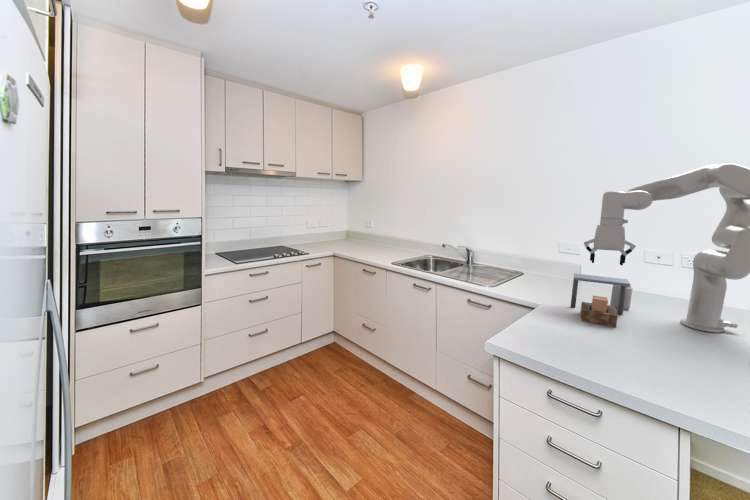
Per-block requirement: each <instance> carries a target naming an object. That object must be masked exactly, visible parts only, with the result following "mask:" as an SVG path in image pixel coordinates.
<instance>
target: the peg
mask: <svg viewBox="0 0 750 500" xmlns="http://www.w3.org/2000/svg"><path fill="white" fill-rule="evenodd" d="M591 303H592V307H591V310H592V311H599V312H605V313H606V312H607V305H608V306H609V304H608V303H609V299H608V297H605V296H600V295H599V296H598V295H592V300H591Z"/></svg>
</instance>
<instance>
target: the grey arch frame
mask: <svg viewBox="0 0 750 500" xmlns="http://www.w3.org/2000/svg"><path fill="white" fill-rule="evenodd" d="M579 281H581V282H587V283H596V284H602V285H603V284H604V285H612V286H613V285H620V286H621V288H620V296H619V303H618V309H616V312H617V315H618V316H623V315H624V310H623V308H624V301H625V294H626V287H627V286H628V287H630V284H631V283H630V281H629V280H628V279H627V278H619V277H611V276H602V275H601V276H600V275H592V274H582V273H576V272H575V273H573V280H572V289H571V290H572V292H571V300H570V305H569V306H570V308H571V309H575V308H576V306H577V297H578V296H577V295H578V288H579Z"/></svg>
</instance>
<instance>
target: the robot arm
mask: <svg viewBox="0 0 750 500" xmlns="http://www.w3.org/2000/svg"><path fill="white" fill-rule="evenodd" d="M713 188H718V189H719V194H720V195H721V196H722V198H723V200H724V202H725V206H726V208H725V209H726V210H725V213H724V214H723V216H722V218H721V220H720V221H719V223H718V225H717V227H716V228H715V230H714V232H713V234H712V236H711V241H712V243H713V245H714V246H716V247H719V248H722V249H726V250H727V249H728V251H724V250H719V249H718V250H717V249H704V250H701V251H700V252H698V253H697V254H695V256H694V258H693V260H692V269H693V276H692V277H693V278H692V285H691V290H690V295H689V296H690V297H689V302H688V306H687V312H686V317H684V318H681V319H680V323H681V324H682V325H683V326H685V327H688V328H691V329H693V330H698V331H700V332H701V331H702V332H706V333H707V332H709V333H718V334H719V333H723V332H724V331H725V328H726V327H727V328H732V329H737V328H738V326H739V325H738V323H737V322H731V321H729V320H724V319H723V318H722V313H723V309H724V303H725V298H726V297H725V296H726V293H727V287H728V284H727V280H735V281H737V280H738V281H739V280H741V279H744V278H746V277H747V276H749V274H750V168H749V167H747V166H744V165H740V164H736V163H729V162H727V163H720V164H718V163H717V164H710V165H705V166H702V167H699V168H696V169H693V170H689V171H686V172H683V173H681V174H676V175H673V176H671V177H668V178H664V179H659V180H657V181H652V182H650V183H645V184H643V185H638V186H636V187H632V188H629V189H626V190H623V191H617V190H616V191H606V192H604V193H603V195H602V201H601V212H600V219H599V224H598V225H597V226H596V229H595V232H594V233H595V234H594V238H592V239H589V240H587V241H584V242H583V246H585V249H586V250H587V251H588V252H589V253H590V256H589V261H591V263H592V264H594V263H595V256H596V253H595V252H596V251H598V250H599V251H601V250H602V251H616V252H618V251H619V252H620V253H621V254H620V258H619V265H620V266H623V265H624V264H625V263H626V257H627V255H629V254H630V253H632V252H633V251H634V249H635V248H636V247H637V245H635V244H634V243H631V242H629V241H628V240H626V229H625V226H624V224H628V222H629V221H628V219H624V215H625V210H631V211H641V210H645V209H648V208H649V207H650V206H651V205H652V204H653V202H656V201H665V200H672V199H673V200H674V199H679V198H682V197H686V196H688V195H689V196H690V195H693V194H695V193H698V192H702V191H706V190H708V189H713ZM589 244H593V247H592V248H591V247H590V245H589ZM625 245H627V246H629V247H628V248H627V249H626V250H624V249H625Z"/></svg>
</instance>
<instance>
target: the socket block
mask: <svg viewBox="0 0 750 500" xmlns="http://www.w3.org/2000/svg"><path fill="white" fill-rule="evenodd" d="M591 307H592V302H586V301H581V304H580V322H582V323H586V324H587V323H588V324H594V325H600V326H604V327H611V328H617V323H618V317H619V315H618V314H617V309H615V307H614V306H611V305H609V304H608V305H607V312H606V313H605V312H599V311H592V310H591Z"/></svg>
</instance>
